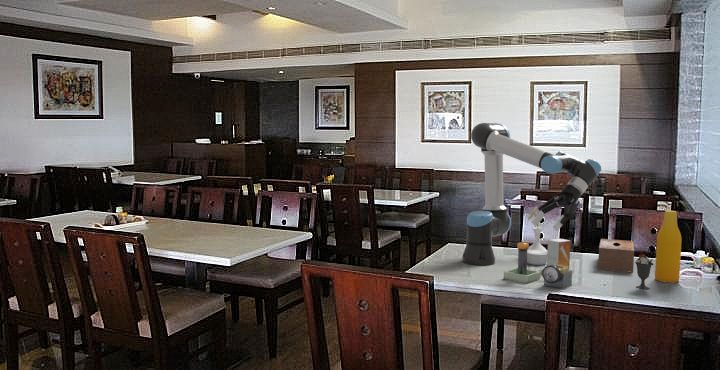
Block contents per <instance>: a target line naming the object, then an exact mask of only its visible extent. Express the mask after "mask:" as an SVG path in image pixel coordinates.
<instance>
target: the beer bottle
mask: <svg viewBox="0 0 720 370" xmlns="http://www.w3.org/2000/svg"><path fill="white" fill-rule="evenodd" d="M681 234H682V233H681V231H680V229H679V226H678V215H677V211H676V210H665V211H664V215H663V222H662V225H661V227H660V229H659V231H658V233H657V236H656V251H655V266H654V267H655V268H654V269H655V270H654V279H655V280H656V281H658V280H659V281H658V282H661V281H665V282H664V283H668V282H676V283H678V282H679V281H680V276H681V272H680V271H681V259H682V258H681V256H682V255H681V254H682V241H683V240H682V235H681ZM677 281H678V282H677Z"/></svg>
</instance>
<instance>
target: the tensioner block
mask: <svg viewBox="0 0 720 370" xmlns="http://www.w3.org/2000/svg"><path fill="white" fill-rule="evenodd" d="M541 277H542V279H543V286H545V287H546V286H547V287H551V288H557V289H562V290H564V289H566V288H569V287H571V286H572V283H573V282H572V281H573V269H572V270H571V269H570V266H569V267H567V266H561V265H549V266H547V265H546V266H545V267H544V268H543V269H542V271H541Z"/></svg>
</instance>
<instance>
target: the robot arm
mask: <svg viewBox="0 0 720 370" xmlns="http://www.w3.org/2000/svg"><path fill="white" fill-rule="evenodd" d="M470 138H471V141H472V143H473V144H474V146H476V147H478V148H480V149H481V150H480V152H481V153H482V154H483V155H484V201H485V203H484V206H483V207H482V208H481V210H473V211H471V212H469V213H468V214H467V217H466V245H465V248H464V251H463V253H462V256H461V261H462V263H464V264H467V263H468V264H467V265H473V264H474V266H490V265H494V264H495V263H496V256H495V253H494V249H493V247H492V246H493V244H492V243H493V238H495V237H500V236H503V235H505V234H506V233H508V232H509V231H510V229H511V226H512V218H511V216H510V215H509V213H508V207H506V206H505V205H504V157H503V156H504V155H505V156H508V157H511V158H513V159H515V160H519V161H520V162H523V163H526V164H527V165H528V164H529V165H531V166H533V167H536V168H540V170H541V169H542V171H543V172H544V173H546V174H552V175H554V174H558V173H559V174H560V173H565V174H566V173H567V174H568V175H571V176H572V177H571V179H570V180H569V181H568V182H567V184H566V185H565V186H564V187H563V188H562V190H561V194H560V195H559V196H558V195H557V194H554V195H553V196H552V197H551V198H549V199H548V200H547V201H546V202H544V203H543V204H541V205H540V206H539V207H537V209H538V211H539V212H538V213H537V214H535V215H536V217H535V216H534V218H533V219H532V221H531V223H532V225H534V227H535V226H536V227H537V224H538V223H540V222H541V221H542V220H543V218H544V217H545V216H546V214H547V213H549V212H551V211H552V210H554V209H556V208H557V209H558V208H559V209H560V208H563V210H564V213H563V214H562V215H561V216H560V217H559V218H558V219H557V220H556V222H555V223H554V224H553V226H552V228H553V229H554V230H555V231H556V232H558V231H559V230H560V229H561V228H562V227H563V225H564V224H566V222H567V221H568V220H570V219H574V218H575V215H576V212H577V209H578V205H579V204H580V203H581V202H580V200H579V199H580V198H581V197H582V195H583V194H584V192H586V190H587V189H588V188H589V186H591V184H592V183H593V182H594V181H595V180H596V179H597V177H598V176H599V174H601V171H602V166H601V164H600V163H599V162H598V161H597V160H595V159H593V158H592V159H591V158H588V159H587V160H585V161H584V160H581V159H578V158H577V157H574V155H573V156H572V155H571V154H569V153H567V152H564V151H562V150H559V151H557V152H556V154H553V153H550V152H548V151H545V150H542V149H540V148H538V147H535V146H533V145H529V144H527V143H524V142H521V141H518V140H517V139H513V138H511V134H510V130H509V129H508V127H506V126H505V125H504V124H503V123H502V124H501V123H498V122H497V123H496V122H481V123H478V124H476V125H475V126H474V127H473V129H472V130H471V133H470Z"/></svg>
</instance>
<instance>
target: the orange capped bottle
mask: <svg viewBox="0 0 720 370" xmlns="http://www.w3.org/2000/svg"><path fill="white" fill-rule="evenodd" d="M516 247H517V249H518V255H517V268H518V274H522V275H527V269H528V263H527V249H529V247H530V245H529V243H528V242H517V246H516Z"/></svg>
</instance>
